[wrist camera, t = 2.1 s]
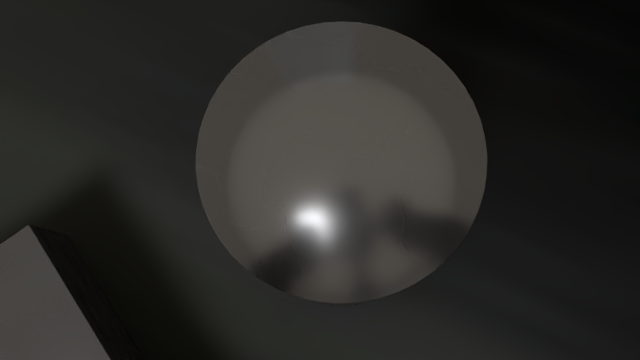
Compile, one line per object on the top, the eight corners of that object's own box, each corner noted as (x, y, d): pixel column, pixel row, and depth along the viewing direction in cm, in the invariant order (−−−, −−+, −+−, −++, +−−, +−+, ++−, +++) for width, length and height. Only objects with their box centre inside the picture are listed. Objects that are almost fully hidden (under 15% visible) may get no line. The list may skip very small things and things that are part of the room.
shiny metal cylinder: (437, 251, 20) (549, 183, 9) (327, 334, 19) (307, 367, 9) (355, 146, 21) (367, -28, 10) (248, 222, 20) (141, 126, 10)
